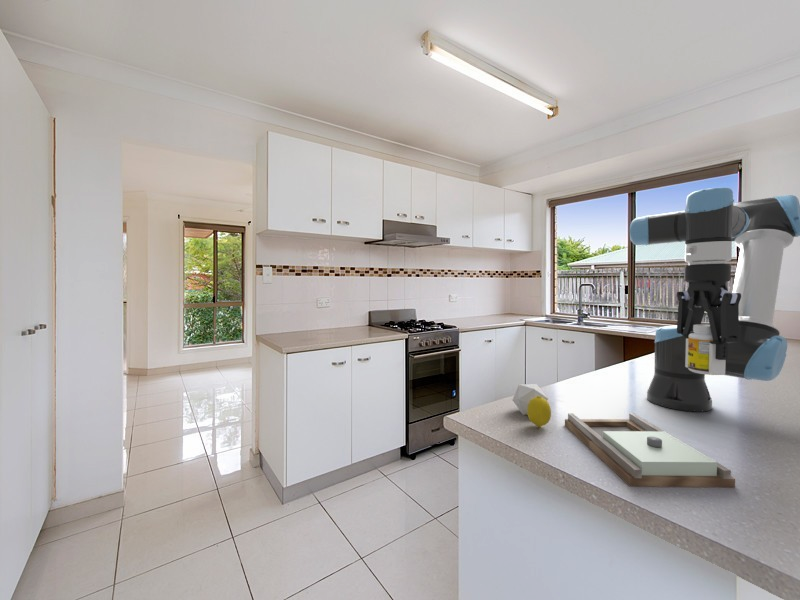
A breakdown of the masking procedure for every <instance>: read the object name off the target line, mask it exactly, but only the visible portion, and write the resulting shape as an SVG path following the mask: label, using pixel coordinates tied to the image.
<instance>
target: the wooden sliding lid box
mask: <svg viewBox="0 0 800 600" xmlns="http://www.w3.org/2000/svg"><path fill="white" fill-rule="evenodd" d="M628 415H629V416H628V417H629V418H627V419H625V418H622V419H621V418H618V419H617V418H612V419H611V418H610V419H609V418H607V419H606V418H597V419H596V418H594V419H593V418H587V419H586V418H584V419H583V418H582V419H581V418H579V417H578V416H577V415H575V414H574V413H573V412H572V413H571V412H570V413H567V418H564V426H565V427H566V428H567V427H568V428H569V431H570V432H571V433H573V435H575V436H576V437H577V438H578V439H579V440H580V441H581V442H582V443H584V445H585V446H586V447H588V449H589V450H591V451H592V452H593V453H594V455H596V456H597V457H599V459H600V460H601V461H603V462H604V463H605V464H606V465H607V467H608V468H610V469H611V470H612V471H613V472H614V473H615V474H616V475H617V476H618V477H620V479H622V481H624V482H625V483H626V484H627V485H628V486H629V487H659V488H660V487H664V488H665V487H667V488H668V487H677V488H678V487H679V488H686V487H688V488H736V478H734V476H732V474H731V473H732V471H731V469H729V468H728V467H726V466H724V465H723V464H721V463H719V462H717V476H655V475H642V470H641V469H640V468H639V467H638V466H637V465H635V464H634V463H633V462H632V461H630V460H629V459H628V458H627V457H626V456H624V455H623V454H622V453H621V452H619V451H618V450H617V449H616V448H615V447H613V446H612V445H611V444H610V443H608V442H607V441H606V440H605V439H604V438H603V431H664V430H663V429H662V428H660V427H658V426H656V425H655V424H653V423H651V422H649V421H648V420H646V419H645V418H643V417H641V416H639V415H637V414H636V413H631V412H630V413H629V414H628Z"/></svg>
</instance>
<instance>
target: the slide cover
mask: <svg viewBox="0 0 800 600" xmlns="http://www.w3.org/2000/svg"><path fill="white" fill-rule="evenodd" d="M603 438H604V439H605V440H606V441H607V442H608V443H610V444H611V445H612V446H613V447H615V448H616V449H617V450H618V451H619V452H621V453H622V454H623V455H624V456H626V457H627V458H628V459H629V460H630V461H632V462H633V463H634V464H635V465H637V466H638V467H639V468H640V469H641V470H642V475H655V476H717V463H718V462H717V461H715V460H714V459H713V458H711V457H710V456H707V455H705V454H704V453H702V452H700V451H699V450H697V449H696V448H694V447H692V446H690V445H689V444H687V443H685V442H683V441H682V440H680V439H678V438H676V437H675V436H673V435H671V434H670V433H668V432H666V431H665V430H663V431H603Z"/></svg>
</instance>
